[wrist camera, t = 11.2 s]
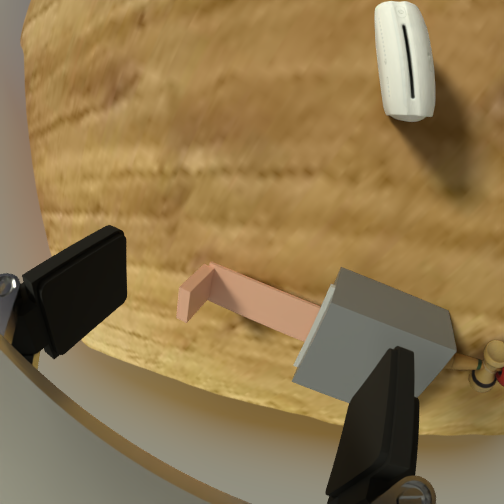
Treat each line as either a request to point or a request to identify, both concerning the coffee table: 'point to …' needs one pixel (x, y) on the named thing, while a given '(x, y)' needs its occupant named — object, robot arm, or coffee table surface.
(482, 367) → the kendama
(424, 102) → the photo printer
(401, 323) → the block
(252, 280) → the pink l-shaped bracket
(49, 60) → the coffee table surface
